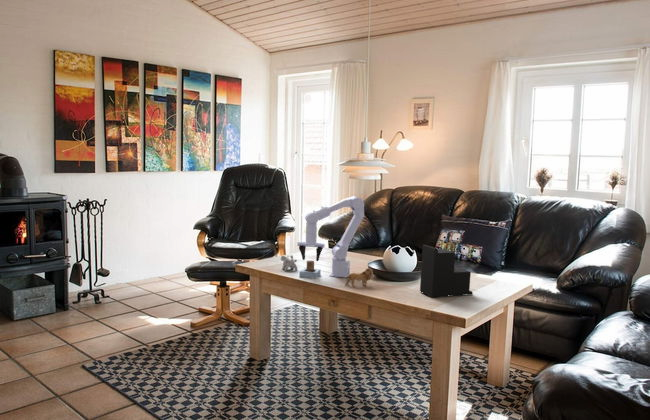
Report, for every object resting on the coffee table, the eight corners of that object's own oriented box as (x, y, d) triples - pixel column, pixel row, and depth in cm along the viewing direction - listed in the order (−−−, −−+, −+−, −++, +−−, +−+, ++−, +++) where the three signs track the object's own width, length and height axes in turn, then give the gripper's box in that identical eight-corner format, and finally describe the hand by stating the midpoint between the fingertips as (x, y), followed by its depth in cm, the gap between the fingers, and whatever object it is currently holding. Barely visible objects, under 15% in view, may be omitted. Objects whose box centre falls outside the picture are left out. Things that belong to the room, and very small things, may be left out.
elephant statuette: (287, 272, 291) (288, 259, 290) (273, 267, 300) (274, 254, 299) (300, 270, 298) (301, 257, 297) (286, 266, 306) (287, 253, 305)
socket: (320, 274, 287) (320, 269, 287) (315, 278, 278) (315, 272, 278) (304, 273, 289) (304, 268, 289) (299, 276, 281) (299, 271, 280)
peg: (314, 275, 285) (315, 260, 284) (312, 277, 281) (313, 262, 281) (307, 274, 286) (307, 260, 285) (305, 276, 282) (305, 261, 282)
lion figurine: (370, 284, 269) (370, 266, 268) (374, 286, 264) (374, 269, 263) (342, 285, 265) (343, 267, 264) (346, 288, 260) (347, 270, 259)
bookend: (459, 289, 264) (462, 243, 262) (473, 295, 254) (476, 246, 252) (419, 292, 256) (421, 244, 254) (431, 298, 246) (434, 248, 244)
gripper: (326, 234, 284) (325, 259, 285) (300, 233, 287) (299, 257, 289) (322, 236, 277) (322, 262, 278) (296, 234, 281) (295, 260, 282)
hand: (310, 260), depth 283 cm, fingers open, 7 cm apart
